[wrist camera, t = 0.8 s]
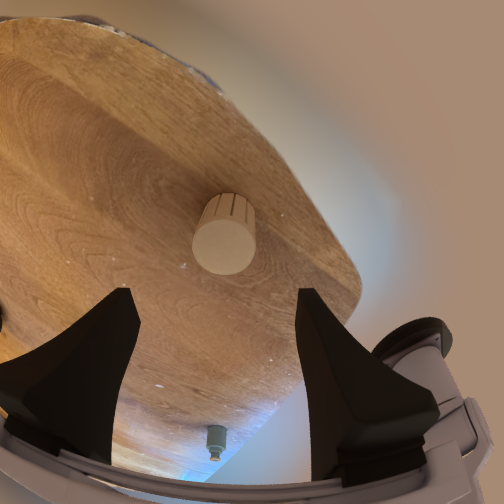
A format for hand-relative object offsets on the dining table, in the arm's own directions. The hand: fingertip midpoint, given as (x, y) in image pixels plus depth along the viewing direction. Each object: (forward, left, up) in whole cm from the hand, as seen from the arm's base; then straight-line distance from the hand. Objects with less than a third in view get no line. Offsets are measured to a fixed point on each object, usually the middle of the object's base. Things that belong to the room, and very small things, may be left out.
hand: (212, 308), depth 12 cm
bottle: (-27, +20, -9) cm, 35 cm away
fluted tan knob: (0, 0, -9) cm, 9 cm away
